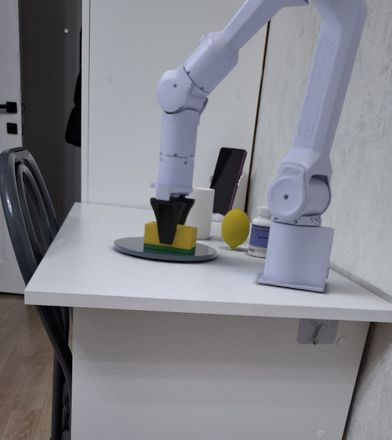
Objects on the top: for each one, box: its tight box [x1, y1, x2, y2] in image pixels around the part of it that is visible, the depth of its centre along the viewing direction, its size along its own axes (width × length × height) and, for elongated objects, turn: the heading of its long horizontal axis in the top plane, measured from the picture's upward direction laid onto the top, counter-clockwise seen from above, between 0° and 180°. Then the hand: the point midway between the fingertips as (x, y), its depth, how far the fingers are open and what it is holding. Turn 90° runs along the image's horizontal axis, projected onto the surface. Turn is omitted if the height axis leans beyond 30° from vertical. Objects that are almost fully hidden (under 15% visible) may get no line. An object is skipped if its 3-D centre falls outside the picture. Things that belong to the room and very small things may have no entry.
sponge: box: [143, 221, 198, 254], centre depth 92 cm, size 8×4×4 cm, turn 77°
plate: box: [113, 236, 218, 262], centre depth 95 cm, size 18×18×1 cm
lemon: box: [220, 207, 251, 250], centre depth 106 cm, size 6×6×8 cm
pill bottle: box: [247, 205, 272, 259], centre depth 102 cm, size 5×5×9 cm
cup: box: [185, 186, 215, 241], centre depth 115 cm, size 8×12×10 cm
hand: (169, 241), depth 92 cm, fingers closed on sponge, 4 cm apart
